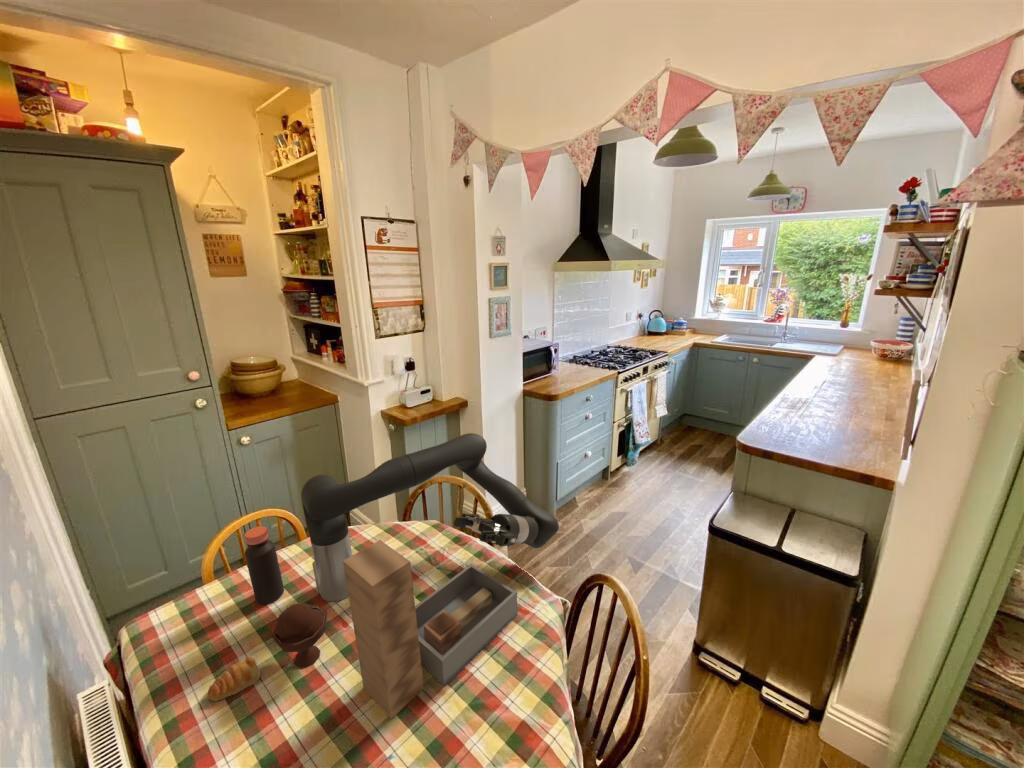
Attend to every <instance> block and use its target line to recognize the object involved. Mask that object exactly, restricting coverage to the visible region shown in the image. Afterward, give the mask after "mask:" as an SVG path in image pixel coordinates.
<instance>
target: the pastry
mask: <svg viewBox="0 0 1024 768" xmlns="http://www.w3.org/2000/svg"><path fill="white" fill-rule="evenodd" d="M261 677H262V673H261V669H260V668H259V667H258V665H257V662H256V660H255V658H254V656H252V655H248V656H246V657H245V658H244V659H243V658H242V659H241V660H238V661H237V662H236V663H234V664H232V665H231V666H228V668H227V669H226V670H225V671H224V672H223V673H222V674H221V675H219V676H218V677H217V679H216V680H214V681H213V683H212V684H211V685H210V686H209V688H208V691H207V698H208V700H209V699H210V701H211V702H219V701H218V700H220V699H222V700H223V698H224V699H227V698H229V697H228V696H230V697H232V696H231V695H234V694H236V693H238V692H239V691H241V690H242V689H244V688H246V687H248V686H249V687H251V686H252V685H254V684H256V682H258V681H259V680H260V679H259V678H261ZM253 683H254V684H253ZM250 685H251V686H250ZM249 687H248V688H249ZM246 689H247V688H246ZM244 690H245V689H244ZM242 691H243V690H242ZM242 691H241V692H242ZM239 693H240V692H239ZM239 693H238V694H239ZM236 695H237V694H236ZM234 696H235V695H234ZM226 697H227V698H226ZM220 701H221V700H220Z"/></svg>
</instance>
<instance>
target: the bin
mask: <svg viewBox="0 0 1024 768" xmlns="http://www.w3.org/2000/svg"><path fill="white" fill-rule="evenodd" d="M482 588H485V589H486V590H488V591H489V592H491V593H492V603H491V604H490V605H489V606H488V607H487V608H485V609H484V610H483V611H482V612H481V613H480V614H479V615H477V616H476V617H475V618H474V619H473V620H472V621H470V622H469V623H468V624H467V625H466V626H465V627H463V628H462V629H461V637H460V638H459V639H458V640H457V641H456V642H455V643H453V644H452V645H451V646H450V647H449V648H448V649H447V650H445V651H444V652H443V653H442V654H441V653H440V652H439V651H438V650H436V649H435V648H434V647H433V646H432V645H431V644H430V643H429V642H428V641H427V640H425V635H424V625H425V624H426V623H427V622H429V621H430V620H431V619H432V618H434V617H435V616H436V615H438V614H439V613H440V612H441V611H443V610H445V611H446V612H447V613H448V614H451V613H453V612H454V611H455V610H456V609H458V608H459V607H460V606H461V605H463V604H464V603H465V602H466V601H467V600H469V599H470V598H471V597H472V596H474V595H475V594H476V593H477V592H479V591H480V590H481V589H482ZM415 610H416V620H417V629H418V638H419V648H420V657H421V666H422V667H423V668H424V669H425V670H426V671H427V672H428V673H429V674H430V675H431V676H432V677H433V678H435V680H436V681H438V682H439V683H440V684H441V685H442V686H443V687H446V686H447V685H448V684H449V683H450V682H451V681H452V680H453V679H454V678H455V677H456V676H457V675H458V674H460V672H461V671H462V670H463V669H464V668H465V667H466V666H467V665H469V663H470V662H471V661H472V660H473V659H474V658H475V657H477V656H478V654H479V653H481V651H482V650H483V649H485V648H486V646H488V644H489V643H491V642H492V640H494V639H495V638H496V637H497V636H498V635H499V634H500V633H499V632H502V631H503V630H502V629H503V628H504V629H505V628H506V627H507V626H508V625H509V624H510V623H511V622H512V621H514V619H515V618H516V617H517V616H518V592H517V591H516V590H514V589H512V588H511V587H509V586H508V585H506V584H505V583H503V582H501V581H500V580H498V579H496V578H495V577H494V576H492V575H490V574H489V573H487V572H486V571H484V570H482V569H481V568H479V567H477V566H476V565H475V564H472V563H471V564H469V565H467V566H466V567H465V568H463V570H461V571H459V572H458V573H457V574H455V575H454V576H452V578H450V579H449V580H447V582H445V583H444V584H442V585H441V586H440V587H438V588H437V589H436V590H435V591H433V592H432V593H430V594H429V595H428V596H426V597H425V598H424V599H422V600H421V601H420V602H418V603H417V604H415ZM510 621H511V622H510ZM509 622H510V623H509ZM508 623H509V624H508ZM507 624H508V625H507ZM506 625H507V626H506ZM505 626H506V627H505ZM498 633H499V634H498Z"/></svg>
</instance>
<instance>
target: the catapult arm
mask: <svg viewBox="0 0 1024 768" xmlns="http://www.w3.org/2000/svg"><path fill="white" fill-rule="evenodd" d="M491 603H492V593H491V592H489V591H488V590H486V589H485V588H482V589H481V590H480V591H479V592H477V593H476V594H475V595H474V596H472V597H471V598H470V599H469V600H467V601H466V602H465V603H464V604H463V605H461V606H460V607H459V608H458V609H456V610H455V611H454V612H453V613H451V614H448V613H447V612H446V611H445V610H443V611H441V612H440V613H439V614H438V615H436V616H435V617H434V618H432V619H431V620H430V621H429V622H427V623H426V624H425V625H424V635H425V640H427V641H428V642H429V643H430V644H431V645H432V646H433V647H434V648H435V649H436V650H438V651H439V652H440V653H441V654H442V653H443V652H444V651H445V650H447V649H448V648H449V647H450V646H451V645H452V644H453V643H455V642H456V641H457V640H458V639H459V638H460V637H461V629H462V628H463V627H465V626H466V625H467V624H468V623H469V622H470V621H472V620H473V619H474V618H475V617H476V616H477V615H479V614H480V613H481V612H482V611H483V610H484V609H485V608H487V607H488V606H489V605H490V604H491Z"/></svg>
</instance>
